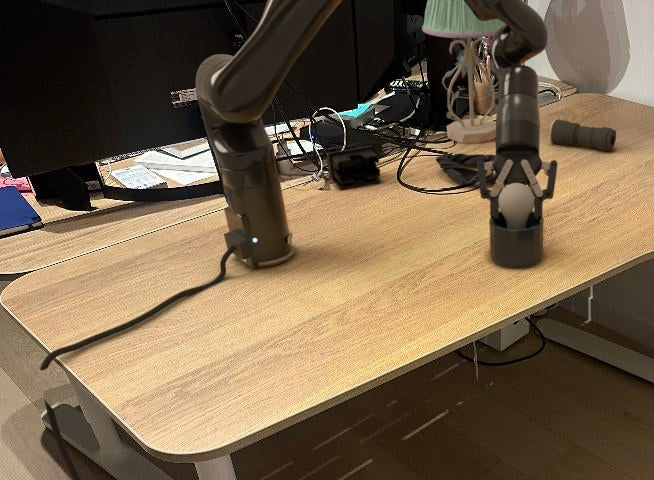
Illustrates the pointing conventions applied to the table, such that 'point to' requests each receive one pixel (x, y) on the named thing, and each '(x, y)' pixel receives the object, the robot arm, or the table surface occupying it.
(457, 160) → the cable
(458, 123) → the table lamp
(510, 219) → the lightbulb
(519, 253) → the pot
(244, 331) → the table surface
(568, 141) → the flashlight
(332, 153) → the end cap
